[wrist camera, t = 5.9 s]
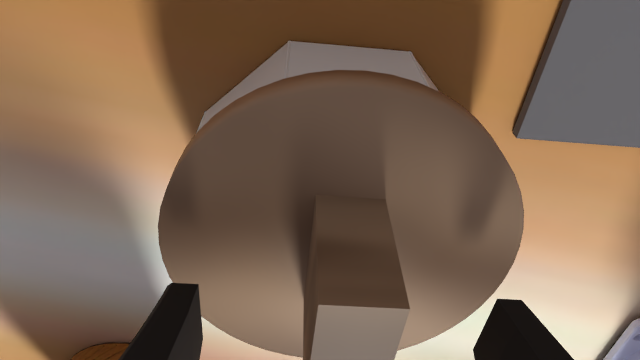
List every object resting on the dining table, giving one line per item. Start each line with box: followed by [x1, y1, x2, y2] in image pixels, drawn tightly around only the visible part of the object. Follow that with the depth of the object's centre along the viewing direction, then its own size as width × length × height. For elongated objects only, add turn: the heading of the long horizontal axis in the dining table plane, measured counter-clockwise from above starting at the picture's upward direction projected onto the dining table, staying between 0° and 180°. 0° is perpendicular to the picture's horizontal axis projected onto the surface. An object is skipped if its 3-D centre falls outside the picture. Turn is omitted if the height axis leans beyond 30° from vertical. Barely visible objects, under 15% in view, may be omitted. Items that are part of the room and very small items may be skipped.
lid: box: [158, 70, 524, 360], centre depth 12 cm, size 10×10×4 cm
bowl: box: [196, 40, 439, 133], centre depth 15 cm, size 9×9×4 cm
